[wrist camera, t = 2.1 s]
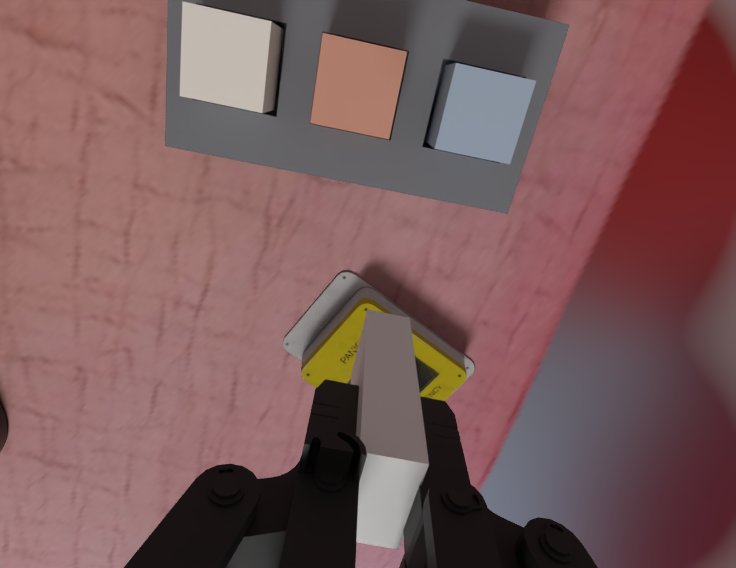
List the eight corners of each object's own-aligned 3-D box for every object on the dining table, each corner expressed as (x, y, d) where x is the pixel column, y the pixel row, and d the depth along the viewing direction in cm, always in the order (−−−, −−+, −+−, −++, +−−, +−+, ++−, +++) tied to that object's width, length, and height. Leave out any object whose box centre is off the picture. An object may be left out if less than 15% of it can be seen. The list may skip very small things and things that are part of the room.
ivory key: (201, 94, 27) (179, 96, 24) (205, 12, 26) (182, 1, 22) (274, 110, 28) (262, 113, 24) (282, 29, 26) (271, 21, 23)
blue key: (426, 141, 28) (434, 148, 25) (445, 65, 27) (455, 62, 23) (493, 155, 29) (509, 164, 26) (515, 81, 27) (536, 80, 24)
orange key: (316, 118, 28) (310, 123, 25) (327, 39, 26) (322, 32, 23) (386, 133, 28) (389, 139, 25) (402, 56, 26) (407, 51, 23)
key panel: (191, 138, 32) (165, 146, 28) (198, -47, 28) (169, -71, 23) (490, 198, 34) (507, 213, 30) (540, 33, 29) (569, 24, 25)
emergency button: (414, 462, 39) (269, 371, 35) (409, 427, 43) (278, 341, 39) (490, 393, 36) (342, 285, 32) (478, 363, 40) (345, 263, 36)
